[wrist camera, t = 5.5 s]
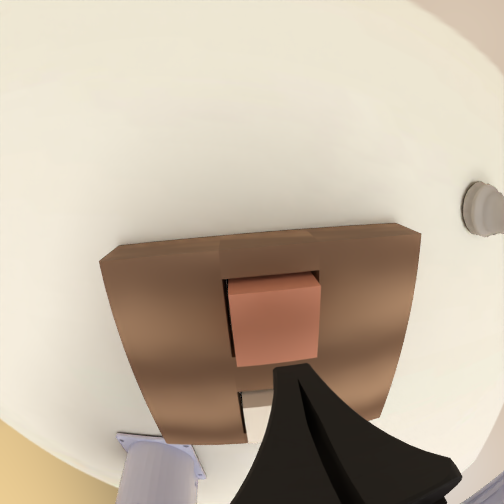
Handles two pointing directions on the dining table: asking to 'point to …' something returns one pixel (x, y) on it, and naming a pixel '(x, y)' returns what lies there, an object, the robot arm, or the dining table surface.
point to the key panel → (219, 327)
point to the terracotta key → (275, 317)
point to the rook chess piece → (484, 210)
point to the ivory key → (256, 413)
